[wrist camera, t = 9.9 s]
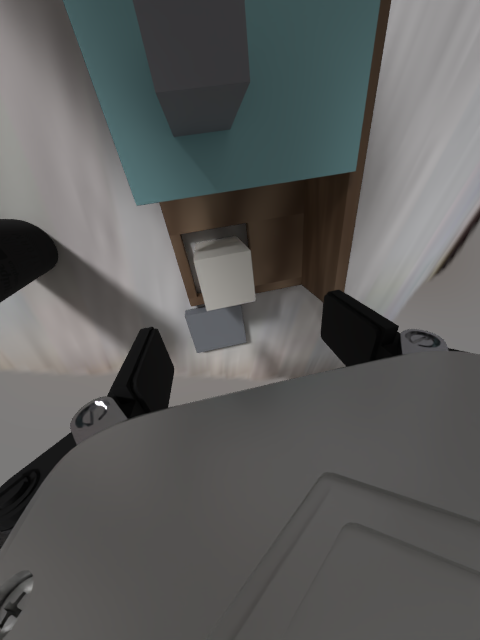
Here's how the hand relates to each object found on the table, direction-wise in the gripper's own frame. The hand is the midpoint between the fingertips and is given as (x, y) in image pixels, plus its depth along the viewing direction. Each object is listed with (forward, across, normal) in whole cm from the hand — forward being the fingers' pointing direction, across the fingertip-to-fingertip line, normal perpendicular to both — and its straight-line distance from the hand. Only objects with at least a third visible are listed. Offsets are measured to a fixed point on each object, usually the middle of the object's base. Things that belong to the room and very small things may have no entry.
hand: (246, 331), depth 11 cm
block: (+14, 0, -1) cm, 14 cm away
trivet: (+14, +2, +8) cm, 16 cm away
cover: (+6, -2, -11) cm, 13 cm away
